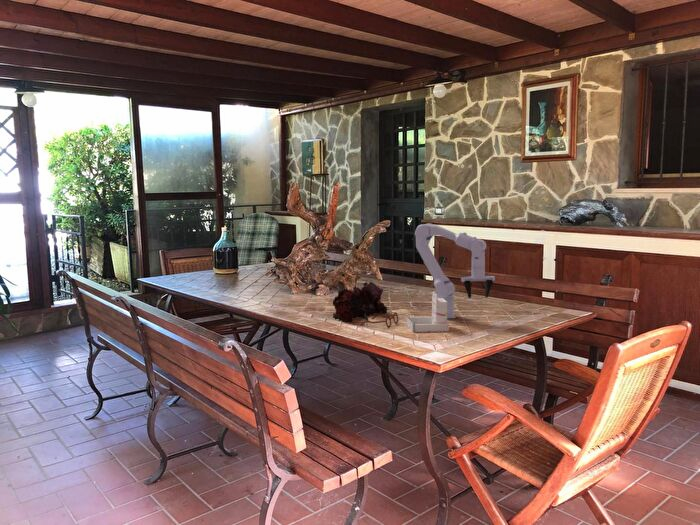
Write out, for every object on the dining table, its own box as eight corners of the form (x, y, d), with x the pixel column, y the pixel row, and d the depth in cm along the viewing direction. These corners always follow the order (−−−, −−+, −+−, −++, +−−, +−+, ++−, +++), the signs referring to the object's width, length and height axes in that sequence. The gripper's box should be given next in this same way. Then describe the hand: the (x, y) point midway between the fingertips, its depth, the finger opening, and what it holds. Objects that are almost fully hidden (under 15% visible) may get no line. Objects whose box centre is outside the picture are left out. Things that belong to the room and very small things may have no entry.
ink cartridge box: (447, 329, 226) (448, 294, 225) (435, 329, 226) (436, 295, 224) (442, 324, 235) (443, 291, 233) (431, 324, 235) (431, 291, 233)
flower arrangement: (356, 324, 236) (356, 290, 234) (321, 318, 248) (320, 286, 246) (394, 311, 261) (394, 280, 259) (360, 306, 273) (360, 277, 271)
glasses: (387, 329, 229) (387, 317, 228) (359, 326, 235) (359, 314, 234) (398, 322, 241) (399, 311, 240) (371, 319, 246) (371, 308, 246)
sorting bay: (406, 323, 236) (406, 316, 236) (440, 322, 238) (440, 315, 237) (412, 332, 223) (413, 323, 222) (448, 331, 224) (449, 323, 223)
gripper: (464, 268, 234) (464, 299, 236) (497, 267, 235) (497, 298, 237) (459, 266, 241) (459, 296, 243) (491, 265, 242) (491, 295, 244)
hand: (477, 297), depth 240 cm, fingers open, 7 cm apart
